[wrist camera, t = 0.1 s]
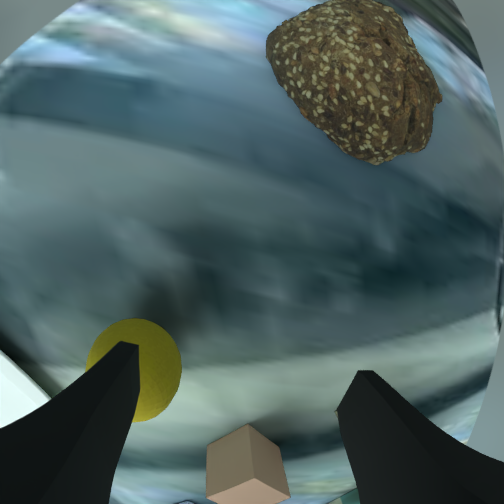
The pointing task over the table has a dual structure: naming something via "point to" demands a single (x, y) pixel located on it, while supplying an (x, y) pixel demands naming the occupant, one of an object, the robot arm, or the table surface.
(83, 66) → the table surface
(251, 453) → the block
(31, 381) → the plate
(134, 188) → the table surface
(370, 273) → the table surface
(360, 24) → the bread roll
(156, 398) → the lemon
